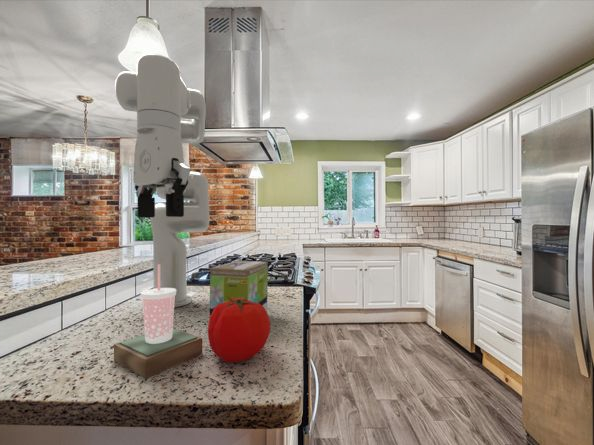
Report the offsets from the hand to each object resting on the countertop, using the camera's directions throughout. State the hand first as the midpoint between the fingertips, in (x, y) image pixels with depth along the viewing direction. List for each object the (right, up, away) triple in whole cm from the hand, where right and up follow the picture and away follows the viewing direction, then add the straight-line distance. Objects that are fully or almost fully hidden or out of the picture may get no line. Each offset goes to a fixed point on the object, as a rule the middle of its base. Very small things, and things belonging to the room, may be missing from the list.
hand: (160, 216), depth 57 cm
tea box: (+12, -27, +19) cm, 35 cm away
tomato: (+15, -26, -1) cm, 30 cm away
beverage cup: (0, -23, -1) cm, 23 cm away
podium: (0, -26, -1) cm, 26 cm away
